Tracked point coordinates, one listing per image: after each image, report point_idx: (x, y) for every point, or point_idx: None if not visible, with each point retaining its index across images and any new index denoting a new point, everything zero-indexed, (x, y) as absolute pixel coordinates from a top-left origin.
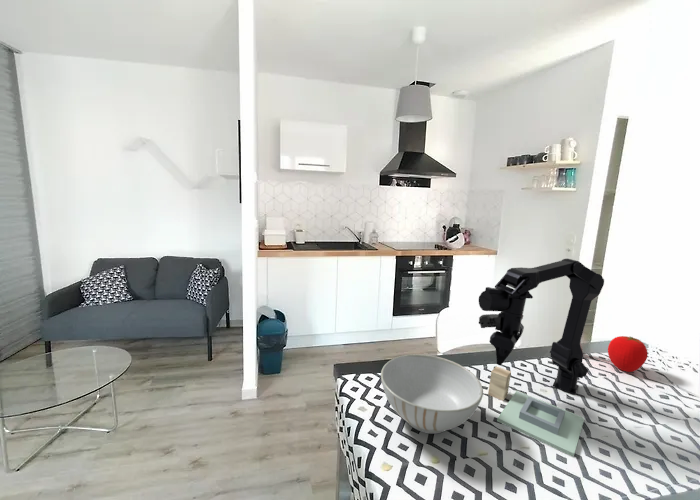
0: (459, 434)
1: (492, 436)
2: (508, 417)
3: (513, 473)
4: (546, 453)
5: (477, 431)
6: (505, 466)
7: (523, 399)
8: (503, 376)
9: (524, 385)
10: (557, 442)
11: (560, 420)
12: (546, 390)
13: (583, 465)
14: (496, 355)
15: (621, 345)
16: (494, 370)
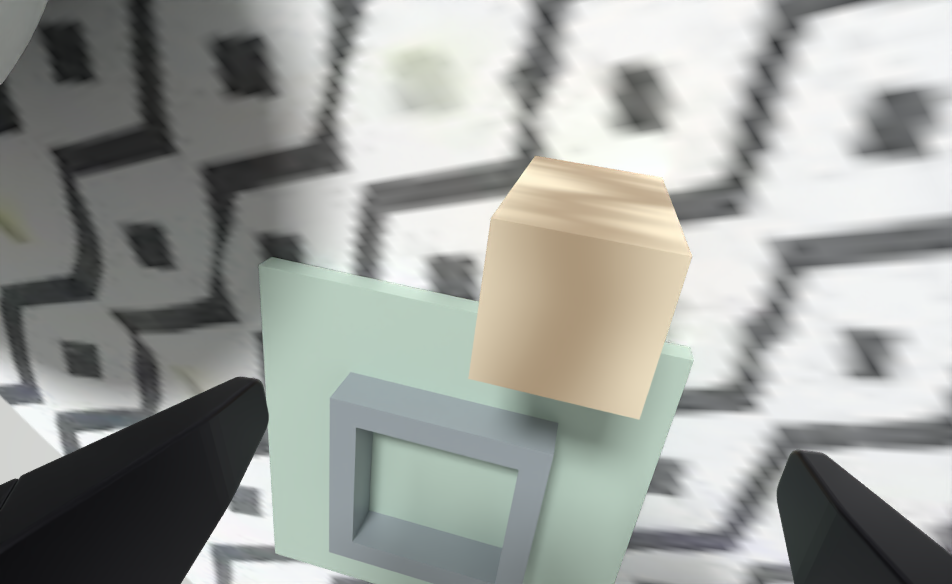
0: (5, 82)
1: (138, 248)
2: (312, 320)
3: (24, 344)
4: None
5: (107, 169)
6: (27, 316)
7: None
8: (473, 349)
9: (870, 403)
10: (295, 512)
11: (406, 571)
12: None
13: (268, 557)
14: (50, 464)
15: None
16: (546, 249)
